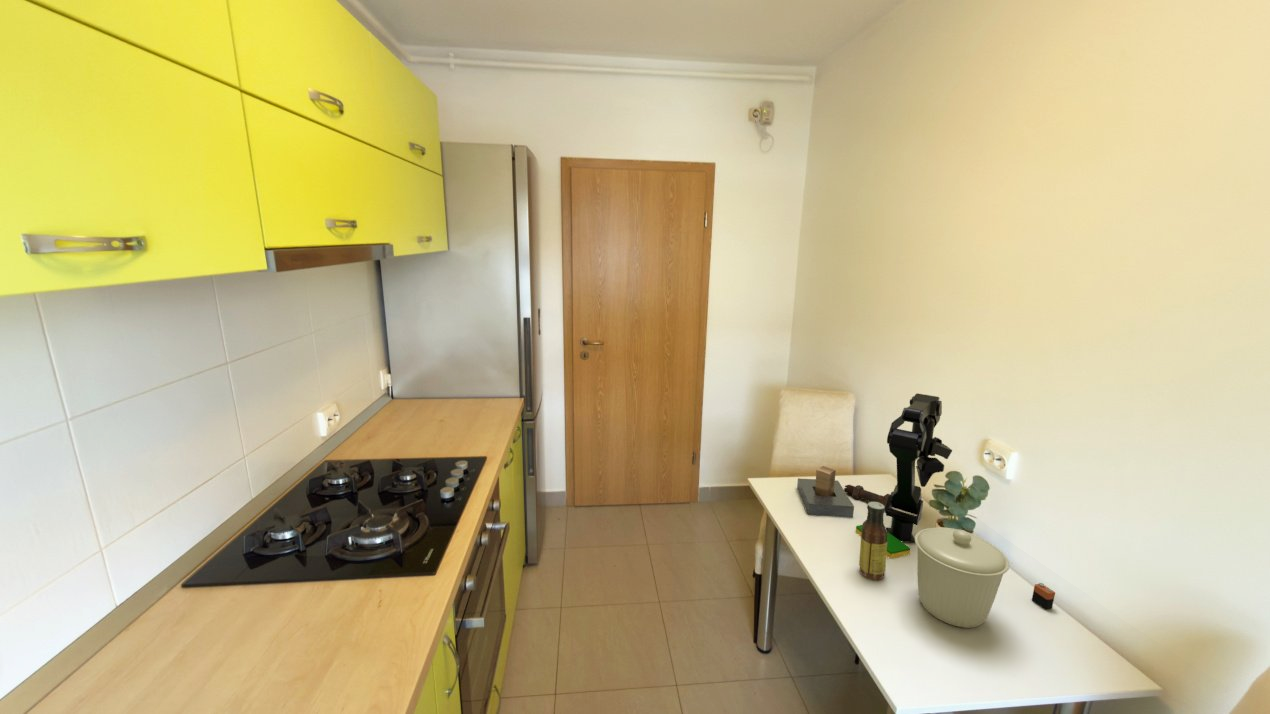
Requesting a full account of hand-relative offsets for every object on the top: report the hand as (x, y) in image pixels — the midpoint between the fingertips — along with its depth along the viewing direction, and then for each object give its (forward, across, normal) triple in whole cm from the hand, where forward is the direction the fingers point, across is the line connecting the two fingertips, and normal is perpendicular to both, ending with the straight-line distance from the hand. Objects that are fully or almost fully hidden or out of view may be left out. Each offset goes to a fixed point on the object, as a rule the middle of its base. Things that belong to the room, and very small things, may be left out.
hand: (916, 479), depth 150 cm
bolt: (+14, +9, +11) cm, 19 cm away
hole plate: (+13, +6, +26) cm, 30 cm away
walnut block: (+13, +6, +26) cm, 30 cm away
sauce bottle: (+13, -31, +23) cm, 41 cm away
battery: (+13, -38, -14) cm, 43 cm away
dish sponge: (+14, -16, +15) cm, 26 cm away
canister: (+13, -43, +9) cm, 46 cm away
